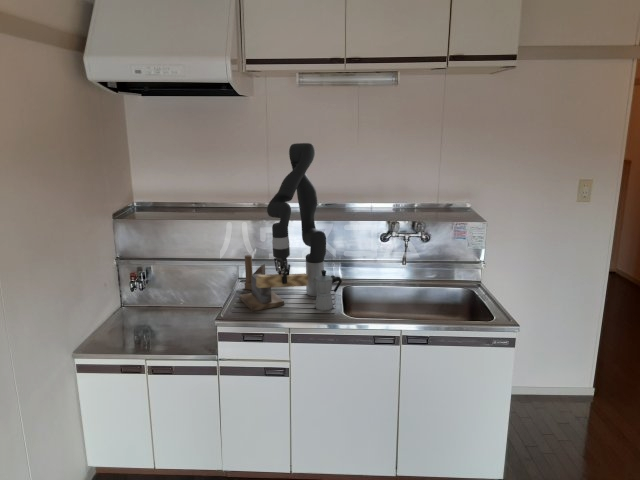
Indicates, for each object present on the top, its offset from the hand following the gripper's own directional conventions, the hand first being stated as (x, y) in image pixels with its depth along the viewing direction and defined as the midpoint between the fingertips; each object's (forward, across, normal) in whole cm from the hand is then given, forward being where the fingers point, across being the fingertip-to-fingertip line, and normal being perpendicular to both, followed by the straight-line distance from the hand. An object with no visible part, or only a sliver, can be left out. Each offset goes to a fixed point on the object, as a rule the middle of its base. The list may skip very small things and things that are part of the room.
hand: (282, 282), depth 221 cm
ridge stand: (+14, +15, +6) cm, 21 cm away
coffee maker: (+14, -6, -19) cm, 25 cm away
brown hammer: (+14, +33, +2) cm, 36 cm away
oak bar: (+2, 0, 0) cm, 2 cm away
